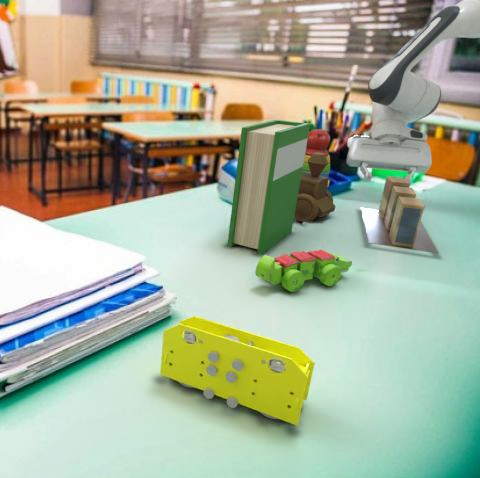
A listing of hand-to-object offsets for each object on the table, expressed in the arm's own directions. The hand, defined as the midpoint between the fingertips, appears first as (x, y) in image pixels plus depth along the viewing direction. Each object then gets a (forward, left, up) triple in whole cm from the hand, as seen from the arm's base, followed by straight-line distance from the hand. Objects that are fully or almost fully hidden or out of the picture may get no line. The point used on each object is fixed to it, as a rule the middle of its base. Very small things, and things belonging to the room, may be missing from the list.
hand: (387, 181), depth 129 cm
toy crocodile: (+18, +59, -7) cm, 62 cm away
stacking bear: (+19, -9, -7) cm, 22 cm away
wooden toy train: (+23, +18, -7) cm, 30 cm away
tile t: (-1, +30, -6) cm, 31 cm away
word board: (-1, +20, -7) cm, 21 cm away
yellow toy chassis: (+24, +95, -7) cm, 98 cm away
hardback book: (+27, +40, -7) cm, 49 cm away
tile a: (-1, +20, -6) cm, 21 cm away
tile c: (-1, +10, -6) cm, 12 cm away
